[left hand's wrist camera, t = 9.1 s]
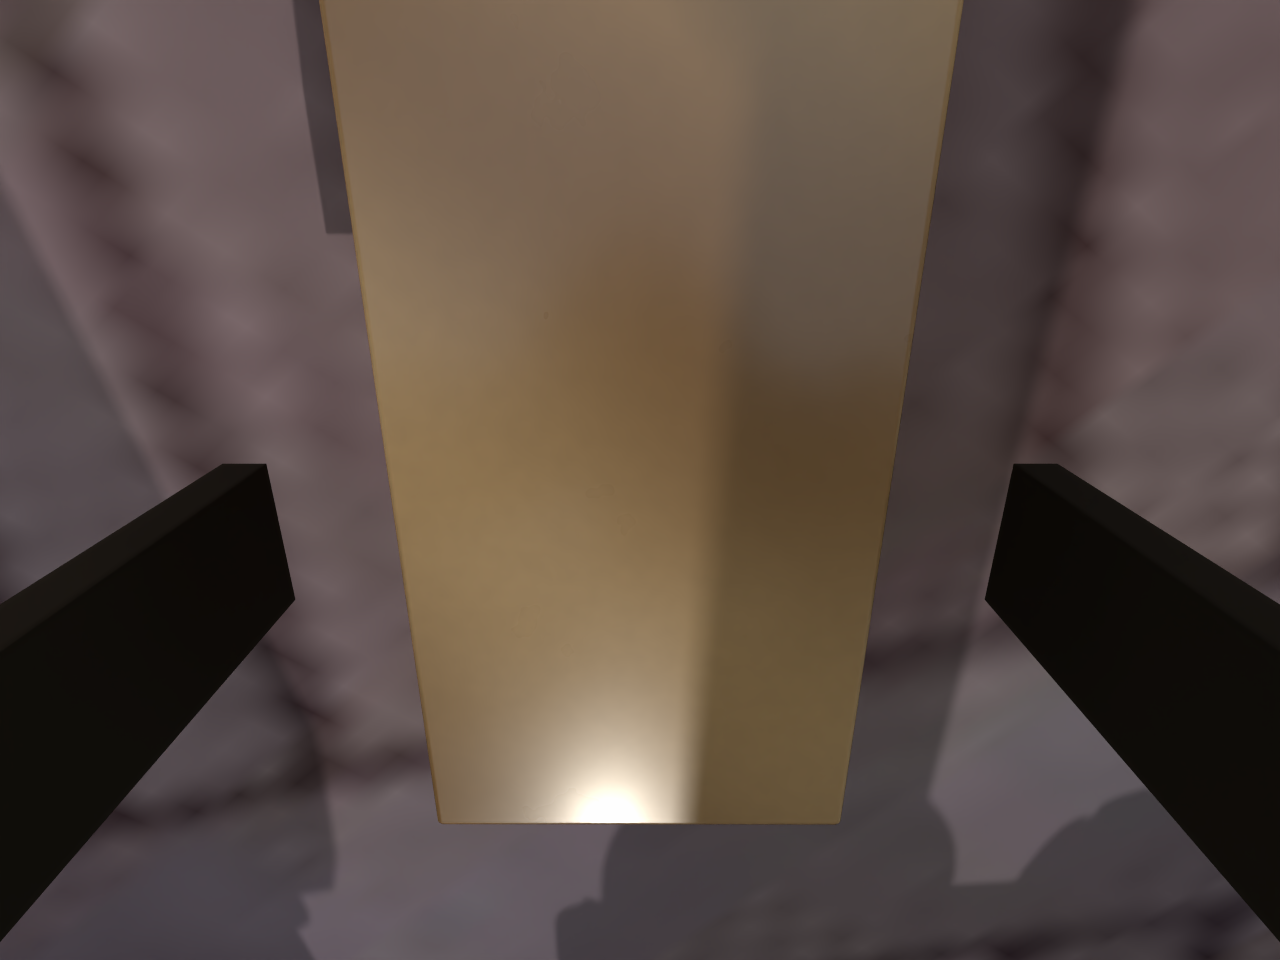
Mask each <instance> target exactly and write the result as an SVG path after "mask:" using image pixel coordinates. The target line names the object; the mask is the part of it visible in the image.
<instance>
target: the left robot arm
mask: <svg viewBox="0 0 1280 960" xmlns="http://www.w3.org/2000/svg"><path fill="white" fill-rule="evenodd" d="M294 600H295V596H294V591H293V587H292V582H291V577H290V573H289V568H288V563H287V559H286V554H285V549H284V545H283V540H282V535H281V531H280V526H279V521H278V517H277V512H276V507H275V503H274V498H273V493H272V489H271V484H270V479H269V475H268V470H267V465H266V464H222V465H220V466H218V467H217V468H215V469H214V470H212V471H210V472H209V473H207V474H206V475H204V476H203V477H201V478H199V479H198V480H196V481H195V482H193V483H191V484H190V485H188V486H187V487H185V488H184V489H182V490H180V491H179V492H177V493H176V494H174V495H173V496H171V497H169V498H168V499H166V500H165V501H163V502H161V503H160V504H158V505H157V506H155V507H154V508H152V509H150V510H149V511H147V512H146V513H144V514H143V515H141V516H139V517H138V518H136V519H135V520H133V521H131V522H130V523H128V524H127V525H125V526H124V527H122V528H120V529H119V530H117V531H116V532H114V533H112V534H111V535H109V536H108V537H106V538H105V539H103V540H101V541H100V542H98V543H97V544H95V545H94V546H92V547H90V548H89V549H87V550H86V551H84V552H82V553H81V554H79V555H78V556H76V557H75V558H73V559H71V560H70V561H68V562H67V563H65V564H63V565H62V566H60V567H59V568H57V569H56V570H54V571H52V572H51V573H49V574H48V575H46V576H45V577H43V578H41V579H40V580H38V581H37V582H35V583H33V584H32V585H30V586H29V587H27V588H26V589H24V590H22V591H21V592H19V593H18V594H16V595H15V596H13V597H11V598H10V599H8V600H7V601H5V602H3V603H2V604H0V941H1V940H2V939H3V938H4V937H5V936H6V934H7V933H8V932H9V931H10V930H11V929H12V928H13V926H14V925H15V924H16V923H17V922H18V921H19V919H20V918H21V917H22V916H23V915H24V914H25V912H26V911H27V910H28V909H29V908H30V907H31V905H32V904H33V903H34V902H35V901H36V900H37V899H38V897H39V896H40V895H41V894H42V893H43V892H44V890H45V889H46V888H47V887H48V886H49V885H50V883H51V882H52V881H53V880H54V879H55V878H56V876H57V875H58V874H59V873H60V872H61V871H62V870H63V868H64V867H65V866H66V865H67V864H68V863H69V861H70V860H71V859H72V858H73V857H74V856H75V854H76V853H77V852H78V851H79V850H80V849H81V848H82V846H83V845H84V844H85V843H86V842H87V841H88V839H89V838H90V837H91V836H92V835H93V834H94V832H95V831H96V830H97V829H98V828H99V827H100V825H101V824H102V823H103V822H104V821H105V820H106V819H107V817H108V816H109V815H110V814H111V813H112V812H113V810H114V809H115V808H116V807H117V806H118V805H119V803H120V802H121V801H122V800H123V799H124V798H125V796H126V795H127V794H128V793H129V792H130V791H131V790H132V788H133V787H134V786H135V785H136V784H137V783H138V781H139V780H140V779H141V778H142V777H143V776H144V774H145V773H146V772H147V771H148V770H149V769H150V767H151V766H152V765H153V764H154V763H155V762H156V761H157V759H158V758H159V757H160V756H161V755H162V754H163V752H164V751H165V750H166V749H167V748H168V747H169V745H170V744H171V743H172V742H173V741H174V740H175V738H176V737H177V736H178V735H179V734H180V733H181V732H182V730H183V729H184V728H185V727H186V726H187V725H188V723H189V722H190V721H191V720H192V719H193V718H194V716H195V715H196V714H197V713H198V712H199V711H200V709H201V708H202V707H203V706H204V705H205V704H206V703H207V701H208V700H209V699H210V698H211V697H212V696H213V694H214V693H215V692H216V691H217V690H218V689H219V687H220V686H221V685H222V684H223V683H224V682H225V680H226V679H227V678H228V677H229V676H230V675H231V674H232V672H233V671H234V670H235V669H236V668H237V667H238V665H239V664H240V663H241V662H242V661H243V660H244V658H245V657H246V656H247V655H248V654H249V653H250V651H251V650H252V649H253V648H254V647H255V646H256V645H257V643H258V642H259V641H260V640H261V639H262V638H263V636H264V635H265V634H266V633H267V632H268V631H269V629H270V628H271V627H272V626H273V625H274V624H275V622H276V621H277V620H278V619H279V618H280V617H281V616H282V614H283V613H284V612H285V611H286V610H287V609H288V607H289V606H290V605H291V604H292V603H293V602H294ZM985 600H986V602H987V603H988V604H989V605H990V606H991V607H992V609H993V610H994V611H995V612H996V613H997V614H998V616H999V617H1000V618H1001V619H1002V620H1003V621H1004V622H1005V624H1006V625H1007V626H1008V627H1009V628H1010V629H1011V631H1012V632H1013V633H1014V634H1015V635H1016V636H1017V638H1018V639H1019V640H1020V641H1021V642H1022V643H1023V645H1024V646H1025V647H1026V648H1027V649H1028V650H1029V651H1030V653H1031V654H1032V655H1033V656H1034V657H1035V658H1036V660H1037V661H1038V662H1039V663H1040V664H1041V665H1042V667H1043V668H1044V669H1045V670H1046V671H1047V672H1048V674H1049V675H1050V676H1051V677H1052V678H1053V679H1054V680H1055V682H1056V683H1057V684H1058V685H1059V686H1060V687H1061V689H1062V690H1063V691H1064V692H1065V693H1066V694H1067V696H1068V697H1069V698H1070V699H1071V700H1072V701H1073V703H1074V704H1075V705H1076V706H1077V707H1078V708H1079V709H1080V711H1081V712H1082V713H1083V714H1084V715H1085V716H1086V718H1087V719H1088V720H1089V721H1090V722H1091V723H1092V725H1093V726H1094V727H1095V728H1096V729H1097V730H1098V732H1099V733H1100V734H1101V735H1102V736H1103V737H1104V738H1105V740H1106V741H1107V742H1108V743H1109V744H1110V745H1111V747H1112V748H1113V749H1114V750H1115V751H1116V752H1117V754H1118V755H1119V756H1120V757H1121V758H1122V759H1123V761H1124V762H1125V763H1126V764H1127V765H1128V766H1129V767H1130V769H1131V770H1132V771H1133V772H1134V773H1135V774H1136V776H1137V777H1138V778H1139V779H1140V780H1141V781H1142V783H1143V784H1144V785H1145V786H1146V787H1147V788H1148V790H1149V791H1150V792H1151V793H1152V794H1153V795H1154V796H1155V798H1156V799H1157V800H1158V801H1159V802H1160V803H1161V805H1162V806H1163V807H1164V808H1165V809H1166V810H1167V812H1168V813H1169V814H1170V815H1171V816H1172V817H1173V819H1174V820H1175V821H1176V822H1177V823H1178V824H1179V825H1180V827H1181V828H1182V829H1183V830H1184V831H1185V832H1186V834H1187V835H1188V836H1189V837H1190V838H1191V839H1192V841H1193V842H1194V843H1195V844H1196V845H1197V846H1198V848H1199V849H1200V850H1201V851H1202V852H1203V853H1204V854H1205V856H1206V857H1207V858H1208V859H1209V860H1210V861H1211V863H1212V864H1213V865H1214V866H1215V867H1216V868H1217V870H1218V871H1219V872H1220V873H1221V874H1222V875H1223V876H1224V878H1225V879H1226V880H1227V881H1228V882H1229V883H1230V885H1231V886H1232V887H1233V888H1234V889H1235V890H1236V892H1237V893H1238V894H1239V895H1240V896H1241V897H1242V899H1243V900H1244V901H1245V902H1246V903H1247V904H1248V905H1249V907H1250V908H1251V909H1252V910H1253V911H1254V912H1255V914H1256V915H1257V916H1258V917H1259V918H1260V919H1261V921H1262V922H1263V923H1264V924H1265V925H1266V926H1267V928H1268V929H1269V930H1270V931H1271V932H1272V933H1273V934H1274V936H1275V937H1276V938H1277V939H1278V940H1279V941H1280V604H1278V603H1277V602H1275V601H1273V600H1272V599H1270V598H1269V597H1267V596H1265V595H1264V594H1262V593H1261V592H1259V591H1258V590H1256V589H1254V588H1253V587H1251V586H1250V585H1248V584H1247V583H1245V582H1243V581H1242V580H1240V579H1239V578H1237V577H1235V576H1234V575H1232V574H1231V573H1229V572H1228V571H1226V570H1224V569H1223V568H1221V567H1220V566H1218V565H1217V564H1215V563H1213V562H1212V561H1210V560H1209V559H1207V558H1205V557H1204V556H1202V555H1201V554H1199V553H1198V552H1196V551H1194V550H1193V549H1191V548H1190V547H1188V546H1186V545H1185V544H1183V543H1182V542H1180V541H1179V540H1177V539H1175V538H1174V537H1172V536H1171V535H1169V534H1168V533H1166V532H1164V531H1163V530H1161V529H1160V528H1158V527H1156V526H1155V525H1153V524H1152V523H1150V522H1149V521H1147V520H1145V519H1144V518H1142V517H1141V516H1139V515H1137V514H1136V513H1134V512H1133V511H1131V510H1130V509H1128V508H1126V507H1125V506H1123V505H1122V504H1120V503H1119V502H1117V501H1115V500H1114V499H1112V498H1111V497H1109V496H1107V495H1106V494H1104V493H1103V492H1101V491H1100V490H1098V489H1096V488H1095V487H1093V486H1092V485H1090V484H1089V483H1087V482H1085V481H1084V480H1082V479H1081V478H1079V477H1077V476H1076V475H1074V474H1073V473H1071V472H1070V471H1068V470H1066V469H1065V468H1063V467H1062V466H1060V465H1058V464H1014V465H1013V470H1012V474H1011V479H1010V484H1009V489H1008V493H1007V498H1006V503H1005V507H1004V512H1003V517H1002V521H1001V526H1000V531H999V535H998V540H997V545H996V549H995V554H994V559H993V563H992V568H991V573H990V577H989V582H988V587H987V591H986V596H985Z"/></svg>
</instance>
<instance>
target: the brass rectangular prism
mask: <svg viewBox="0 0 1280 960" xmlns="http://www.w3.org/2000/svg"><path fill="white" fill-rule="evenodd" d="M963 2H964V0H319V4H320V11H321V18H322V24H323V31H324V38H325V45H326V52H327V59H328V66H329V73H330V80H331V86H332V93H333V100H334V107H335V114H336V121H337V128H338V135H339V141H340V148H341V155H342V162H343V169H344V176H345V183H346V190H347V197H348V203H349V210H350V217H351V224H352V231H353V238H354V245H355V252H356V259H357V265H358V272H359V279H360V286H361V293H362V300H363V307H364V314H365V321H366V327H367V334H368V341H369V348H370V355H371V362H372V369H373V376H374V383H375V389H376V396H377V403H378V410H379V417H380V424H381V431H382V438H383V445H384V451H385V458H386V465H387V472H388V479H389V486H390V493H391V500H392V507H393V513H394V520H395V527H396V534H397V541H398V548H399V555H400V562H401V568H402V575H403V582H404V589H405V596H406V603H407V610H408V617H409V624H410V630H411V637H412V644H413V651H414V658H415V665H416V672H417V679H418V686H419V692H420V699H421V706H422V713H423V720H424V727H425V734H426V741H427V748H428V754H429V761H430V768H431V775H432V782H433V789H434V796H435V803H436V810H437V816H438V821H439V823H441V824H814V825H835V824H838V823H839V822H840V819H841V813H842V806H843V800H844V793H845V786H846V780H847V773H848V766H849V760H850V753H851V746H852V740H853V733H854V726H855V720H856V713H857V706H858V700H859V693H860V686H861V680H862V673H863V667H864V660H865V653H866V647H867V640H868V633H869V627H870V620H871V613H872V607H873V600H874V593H875V587H876V580H877V573H878V567H879V560H880V554H881V547H882V540H883V534H884V527H885V520H886V514H887V507H888V500H889V494H890V487H891V480H892V474H893V467H894V460H895V454H896V447H897V441H898V434H899V427H900V421H901V414H902V407H903V401H904V394H905V387H906V381H907V374H908V367H909V361H910V354H911V347H912V341H913V334H914V327H915V321H916V314H917V308H918V301H919V294H920V288H921V281H922V274H923V268H924V261H925V254H926V248H927V241H928V234H929V228H930V221H931V214H932V208H933V201H934V195H935V188H936V181H937V175H938V168H939V161H940V155H941V148H942V141H943V135H944V128H945V121H946V115H947V108H948V101H949V95H950V88H951V81H952V75H953V68H954V62H955V55H956V48H957V42H958V35H959V28H960V22H961V15H962V8H963Z"/></svg>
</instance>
